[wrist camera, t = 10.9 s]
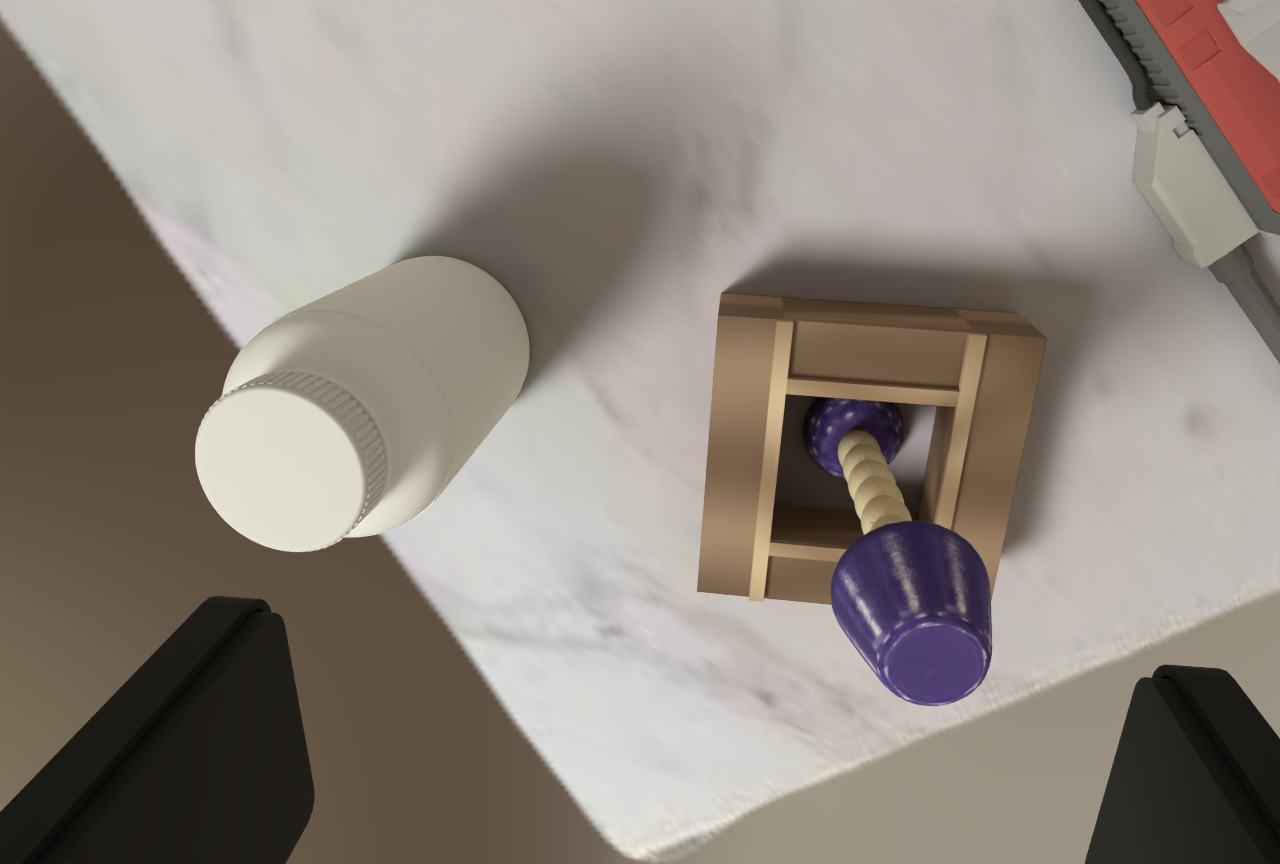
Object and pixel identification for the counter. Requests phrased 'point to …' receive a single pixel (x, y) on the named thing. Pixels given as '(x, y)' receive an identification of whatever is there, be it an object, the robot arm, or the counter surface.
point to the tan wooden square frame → (864, 370)
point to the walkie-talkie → (1206, 129)
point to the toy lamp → (900, 565)
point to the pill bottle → (362, 404)
